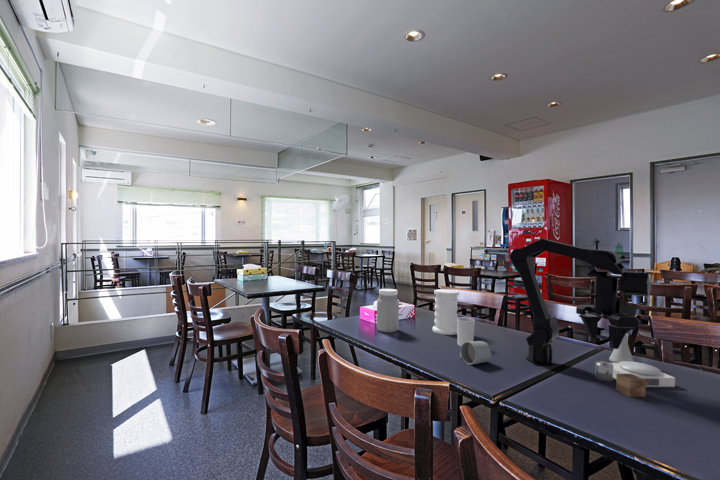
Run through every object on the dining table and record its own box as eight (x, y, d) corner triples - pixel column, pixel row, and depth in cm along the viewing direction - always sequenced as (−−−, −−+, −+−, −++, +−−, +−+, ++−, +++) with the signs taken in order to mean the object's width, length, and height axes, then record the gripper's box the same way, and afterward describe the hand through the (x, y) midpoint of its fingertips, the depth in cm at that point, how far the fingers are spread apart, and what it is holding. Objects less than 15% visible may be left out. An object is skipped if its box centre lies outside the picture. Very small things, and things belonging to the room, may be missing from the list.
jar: (402, 330, 158) (403, 290, 158) (389, 334, 151) (389, 292, 151) (385, 326, 165) (386, 287, 165) (371, 329, 158) (372, 289, 158)
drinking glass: (477, 345, 138) (478, 319, 138) (466, 348, 134) (467, 321, 134) (464, 341, 143) (464, 316, 143) (452, 343, 139) (453, 318, 139)
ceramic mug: (493, 364, 117) (493, 342, 117) (475, 367, 114) (475, 344, 114) (471, 355, 126) (471, 334, 126) (453, 358, 123) (454, 337, 123)
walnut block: (629, 397, 95) (629, 380, 94) (616, 389, 99) (616, 373, 99) (645, 397, 95) (645, 380, 95) (631, 389, 99) (631, 373, 99)
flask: (640, 367, 117) (640, 337, 117) (615, 365, 119) (616, 335, 119) (628, 360, 125) (628, 331, 124) (605, 358, 126) (605, 330, 126)
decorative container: (438, 335, 152) (439, 293, 151) (428, 328, 163) (429, 289, 163) (463, 334, 154) (464, 292, 154) (451, 327, 165) (452, 289, 165)
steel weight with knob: (602, 381, 105) (602, 366, 105) (591, 375, 109) (592, 360, 109) (616, 381, 105) (616, 366, 105) (605, 375, 109) (605, 361, 109)
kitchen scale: (632, 387, 101) (632, 375, 101) (600, 370, 113) (601, 360, 113) (676, 387, 101) (676, 375, 101) (640, 371, 114) (640, 360, 114)
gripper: (659, 298, 98) (657, 354, 98) (608, 288, 116) (607, 335, 117) (620, 297, 97) (618, 354, 97) (575, 287, 116) (574, 335, 116)
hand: (604, 343), depth 107 cm, fingers open, 9 cm apart
